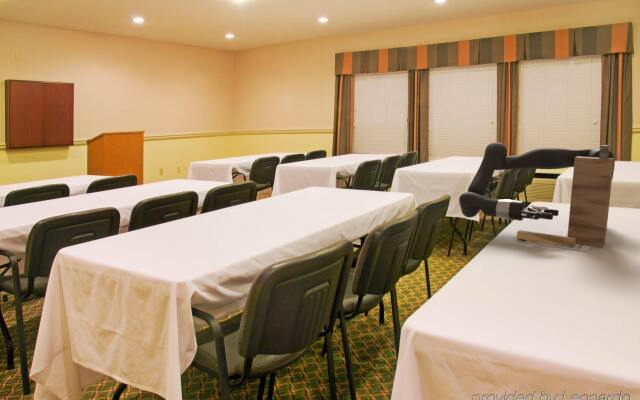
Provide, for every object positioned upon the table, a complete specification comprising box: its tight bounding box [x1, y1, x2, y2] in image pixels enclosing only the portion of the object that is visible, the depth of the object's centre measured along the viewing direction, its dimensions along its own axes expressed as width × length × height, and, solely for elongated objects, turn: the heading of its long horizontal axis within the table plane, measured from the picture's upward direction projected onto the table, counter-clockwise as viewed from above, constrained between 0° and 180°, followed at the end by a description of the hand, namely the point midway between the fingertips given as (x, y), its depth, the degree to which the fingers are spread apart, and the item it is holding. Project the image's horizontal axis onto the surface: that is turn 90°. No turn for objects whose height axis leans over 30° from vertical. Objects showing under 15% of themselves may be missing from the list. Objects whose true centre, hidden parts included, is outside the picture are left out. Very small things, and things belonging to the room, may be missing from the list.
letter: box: [524, 240, 592, 253], centre depth 189 cm, size 8×21×1 cm, turn 53°
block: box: [516, 229, 576, 247], centre depth 191 cm, size 3×20×3 cm, turn 53°
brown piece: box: [566, 144, 615, 249], centre depth 188 cm, size 6×12×37 cm, turn 53°
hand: (555, 215), depth 188 cm, fingers open, 8 cm apart
